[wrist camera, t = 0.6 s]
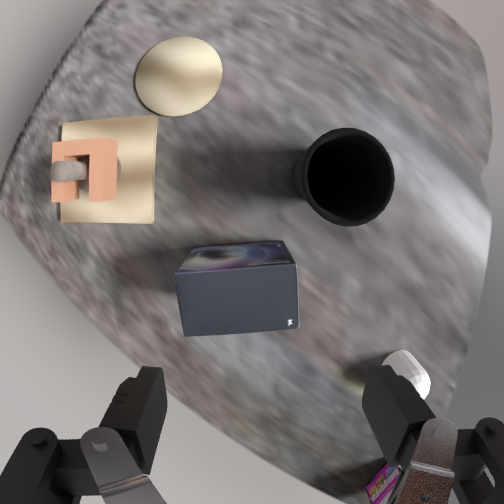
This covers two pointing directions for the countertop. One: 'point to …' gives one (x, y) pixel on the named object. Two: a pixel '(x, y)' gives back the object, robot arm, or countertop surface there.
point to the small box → (238, 289)
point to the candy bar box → (382, 484)
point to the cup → (345, 176)
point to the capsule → (409, 370)
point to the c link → (99, 168)
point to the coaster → (179, 76)
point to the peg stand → (128, 171)
